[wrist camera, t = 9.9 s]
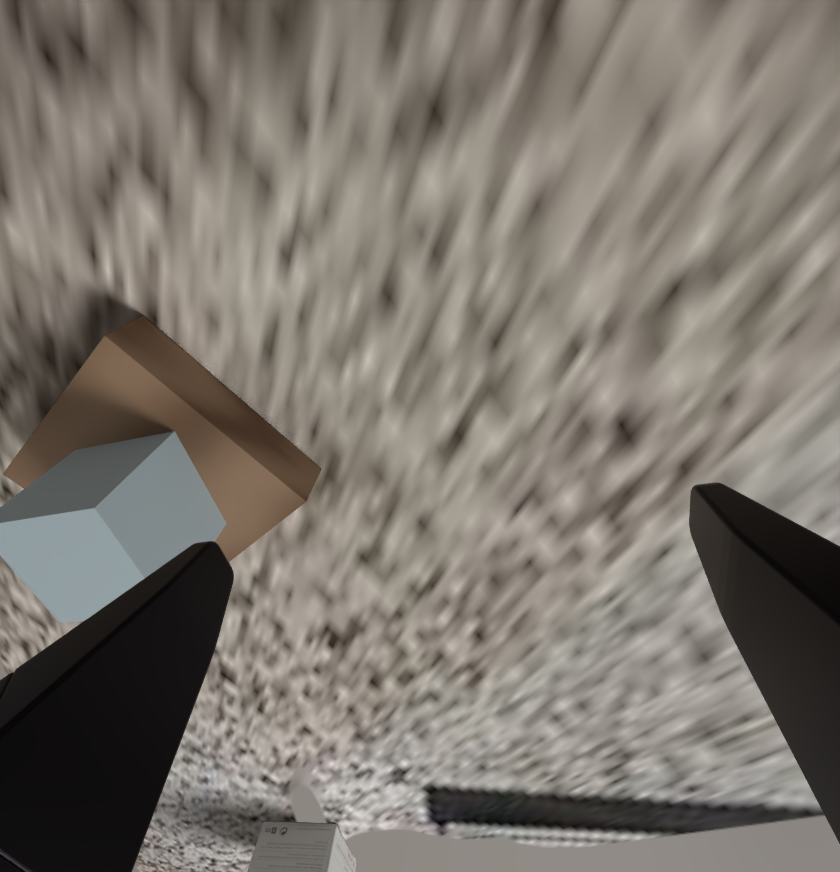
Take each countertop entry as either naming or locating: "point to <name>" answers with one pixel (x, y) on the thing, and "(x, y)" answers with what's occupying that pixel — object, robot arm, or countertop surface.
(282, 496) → the board
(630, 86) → the countertop surface
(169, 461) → the block
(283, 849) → the supplement box
